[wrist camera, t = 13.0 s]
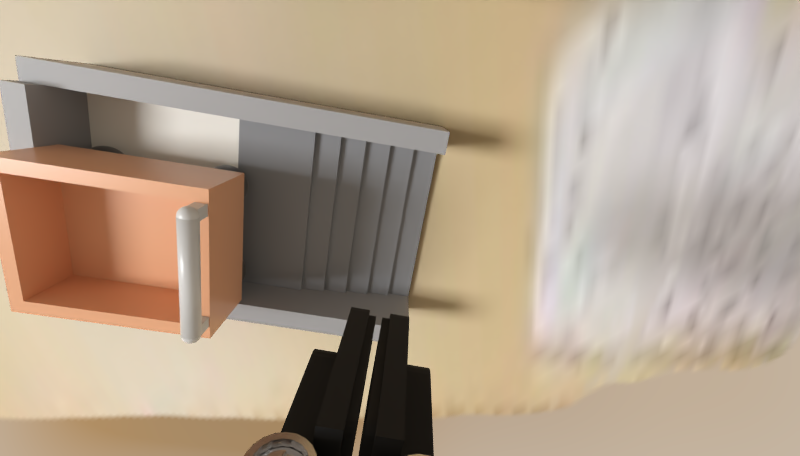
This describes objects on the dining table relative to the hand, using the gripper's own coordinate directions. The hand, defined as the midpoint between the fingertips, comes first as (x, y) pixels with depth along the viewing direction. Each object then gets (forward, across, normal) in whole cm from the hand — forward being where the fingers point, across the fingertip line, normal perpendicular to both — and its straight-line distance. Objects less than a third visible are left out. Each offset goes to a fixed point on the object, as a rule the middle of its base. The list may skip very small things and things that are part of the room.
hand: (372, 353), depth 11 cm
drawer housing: (+15, +9, +2) cm, 18 cm away
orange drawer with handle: (+13, +14, +3) cm, 19 cm away
